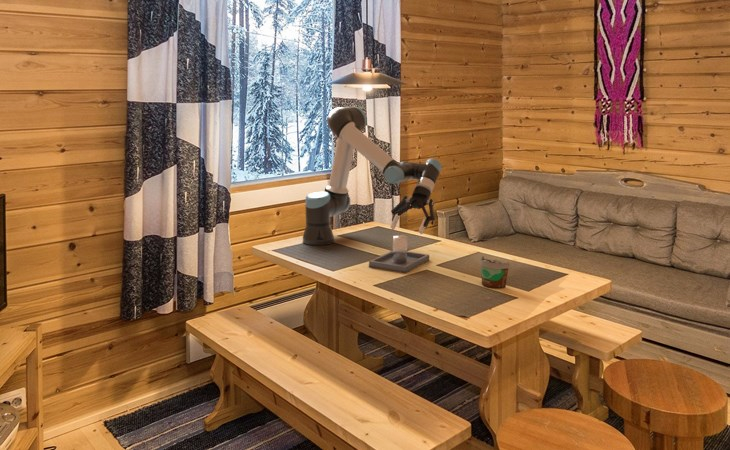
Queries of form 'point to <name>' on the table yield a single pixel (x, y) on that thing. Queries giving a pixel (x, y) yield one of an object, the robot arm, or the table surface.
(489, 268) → the food container
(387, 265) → the slate tray
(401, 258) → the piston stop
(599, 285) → the table surface
